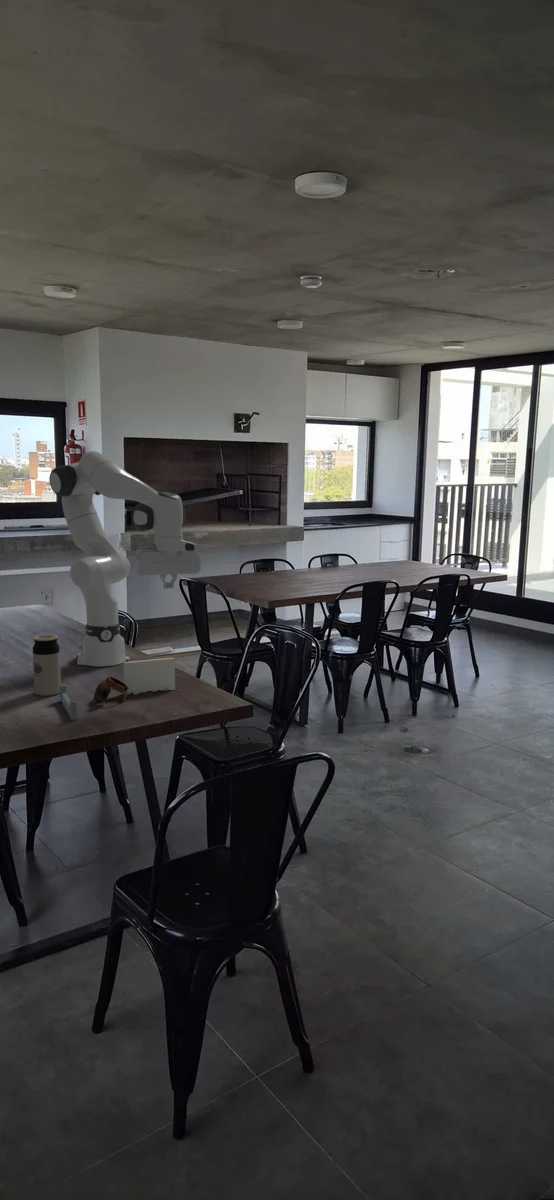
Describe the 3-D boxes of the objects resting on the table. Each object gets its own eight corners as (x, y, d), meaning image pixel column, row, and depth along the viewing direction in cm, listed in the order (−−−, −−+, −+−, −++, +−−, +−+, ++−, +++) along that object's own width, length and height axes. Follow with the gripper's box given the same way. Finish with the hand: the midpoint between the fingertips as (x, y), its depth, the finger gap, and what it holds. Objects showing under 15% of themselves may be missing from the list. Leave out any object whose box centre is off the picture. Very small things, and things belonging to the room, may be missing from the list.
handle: (60, 700, 244) (59, 684, 243) (65, 700, 244) (64, 684, 243) (71, 720, 226) (70, 703, 225) (77, 719, 226) (76, 702, 225)
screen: (123, 692, 253) (122, 661, 252) (172, 686, 260) (172, 656, 258) (126, 695, 250) (125, 664, 248) (176, 689, 256) (175, 659, 254)
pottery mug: (97, 697, 250) (110, 674, 250) (122, 712, 248) (135, 689, 248) (82, 698, 238) (96, 674, 238) (108, 714, 236) (122, 690, 236)
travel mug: (54, 687, 257) (52, 632, 254) (65, 693, 251) (63, 637, 248) (30, 692, 252) (27, 636, 249) (41, 698, 246) (38, 640, 243)
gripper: (138, 546, 245) (138, 591, 248) (202, 545, 253) (201, 588, 256) (133, 544, 251) (133, 587, 253) (196, 543, 259) (196, 585, 261)
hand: (168, 588), depth 255 cm, fingers closed
